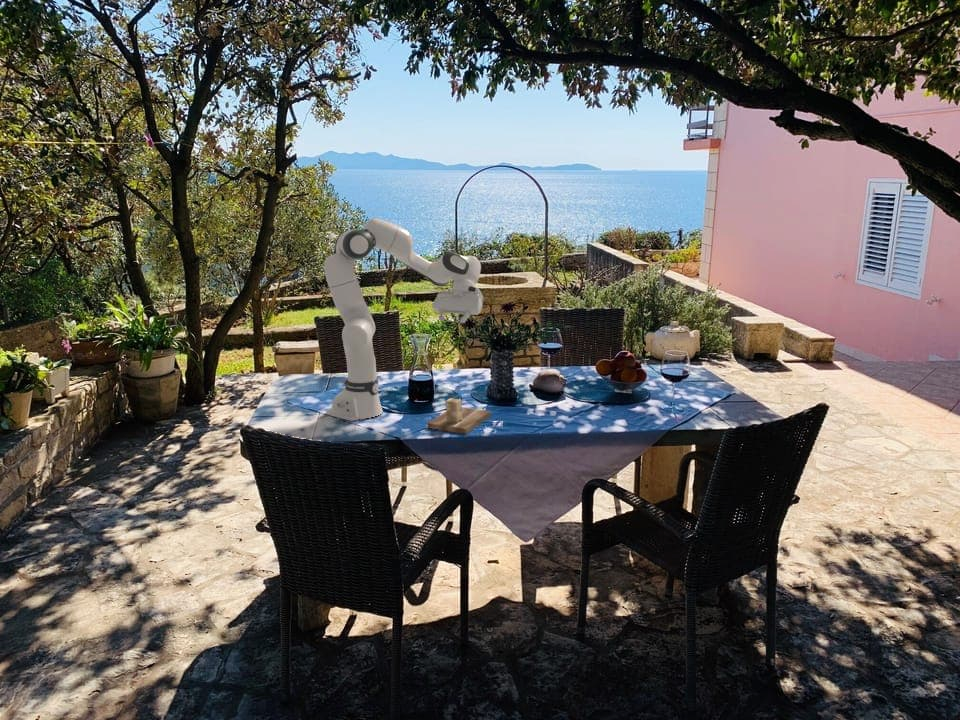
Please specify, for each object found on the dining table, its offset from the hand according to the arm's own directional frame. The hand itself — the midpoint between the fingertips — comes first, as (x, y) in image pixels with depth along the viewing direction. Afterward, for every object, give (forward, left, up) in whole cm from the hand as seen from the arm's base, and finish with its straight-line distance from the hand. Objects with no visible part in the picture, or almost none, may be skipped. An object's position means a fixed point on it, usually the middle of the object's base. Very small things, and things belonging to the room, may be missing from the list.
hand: (451, 321), depth 268 cm
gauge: (+10, -19, -33) cm, 40 cm away
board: (+10, -15, -35) cm, 40 cm away
